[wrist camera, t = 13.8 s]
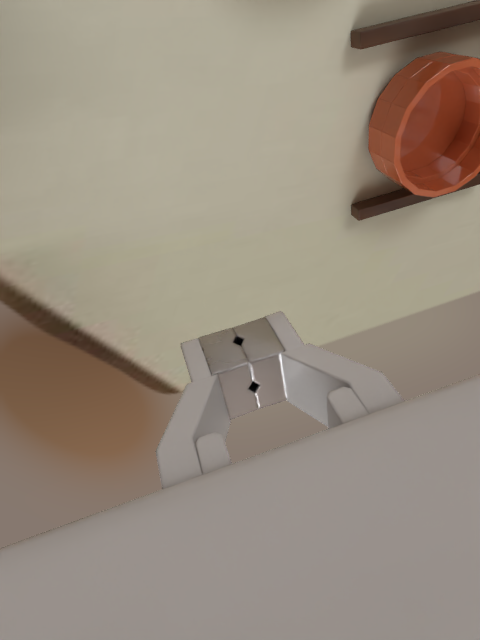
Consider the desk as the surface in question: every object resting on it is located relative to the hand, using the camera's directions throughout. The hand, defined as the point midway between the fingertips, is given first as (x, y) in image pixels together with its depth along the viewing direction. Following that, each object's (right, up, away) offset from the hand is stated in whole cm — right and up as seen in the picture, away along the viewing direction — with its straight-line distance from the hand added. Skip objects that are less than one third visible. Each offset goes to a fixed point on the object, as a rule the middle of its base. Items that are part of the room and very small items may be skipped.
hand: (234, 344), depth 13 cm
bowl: (+17, +20, +30) cm, 40 cm away
